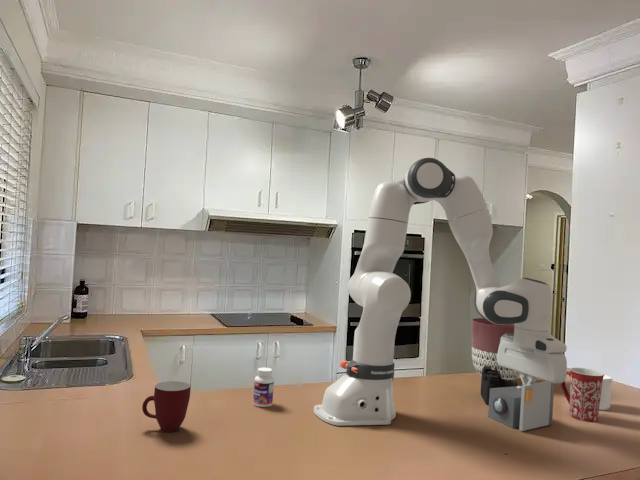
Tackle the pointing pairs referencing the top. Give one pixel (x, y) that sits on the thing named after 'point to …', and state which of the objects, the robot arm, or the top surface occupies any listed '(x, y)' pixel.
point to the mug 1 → (169, 404)
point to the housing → (505, 405)
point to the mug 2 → (584, 393)
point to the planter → (489, 346)
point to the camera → (492, 382)
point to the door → (536, 405)
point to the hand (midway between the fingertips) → (527, 391)
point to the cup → (605, 393)
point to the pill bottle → (263, 388)
